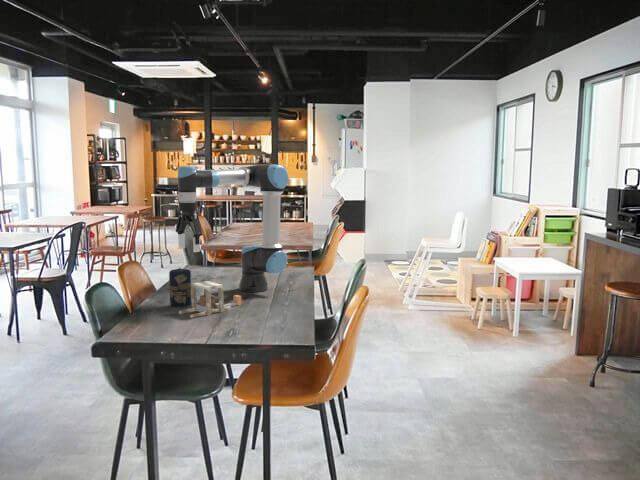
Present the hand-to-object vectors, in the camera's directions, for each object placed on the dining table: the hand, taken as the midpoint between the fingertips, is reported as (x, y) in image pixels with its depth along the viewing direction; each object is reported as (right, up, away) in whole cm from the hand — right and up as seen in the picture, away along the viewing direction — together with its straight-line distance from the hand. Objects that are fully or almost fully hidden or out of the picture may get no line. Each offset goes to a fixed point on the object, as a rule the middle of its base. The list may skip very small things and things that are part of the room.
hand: (189, 250), depth 251 cm
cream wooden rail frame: (+10, -27, -1) cm, 29 cm away
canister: (-6, -26, +10) cm, 29 cm away
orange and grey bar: (+13, -26, +3) cm, 29 cm away
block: (+9, -25, -2) cm, 27 cm away
